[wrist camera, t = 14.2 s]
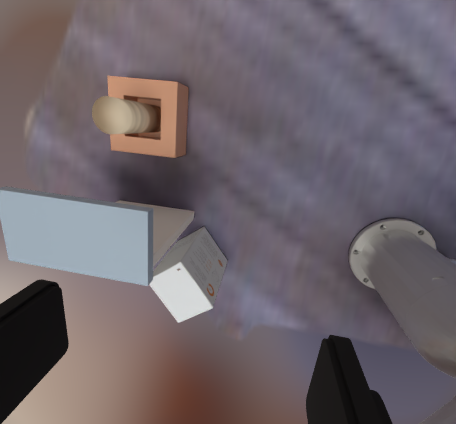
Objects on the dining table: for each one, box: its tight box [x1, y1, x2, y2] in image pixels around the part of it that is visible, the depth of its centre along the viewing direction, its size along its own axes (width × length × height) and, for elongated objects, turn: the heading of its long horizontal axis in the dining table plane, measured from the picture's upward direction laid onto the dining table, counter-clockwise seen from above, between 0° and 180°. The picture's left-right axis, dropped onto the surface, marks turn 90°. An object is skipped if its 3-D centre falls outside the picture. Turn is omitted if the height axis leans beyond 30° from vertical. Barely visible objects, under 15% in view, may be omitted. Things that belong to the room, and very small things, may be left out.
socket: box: [108, 76, 189, 158], centre depth 38 cm, size 10×10×5 cm
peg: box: [92, 96, 161, 134], centre depth 34 cm, size 4×4×12 cm
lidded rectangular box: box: [0, 187, 194, 286], centre depth 35 cm, size 16×8×20 cm, turn 85°
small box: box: [149, 227, 228, 323], centre depth 41 cm, size 8×6×13 cm
